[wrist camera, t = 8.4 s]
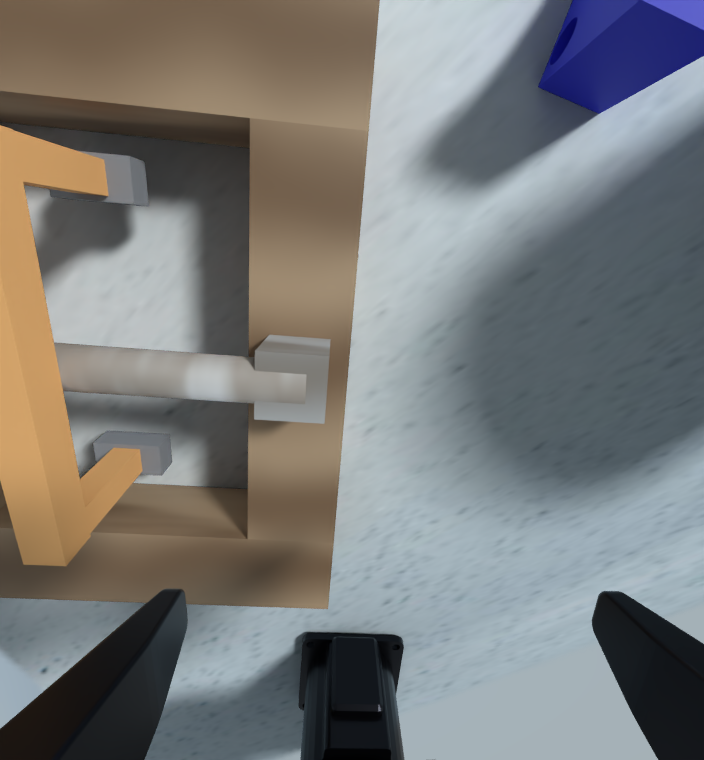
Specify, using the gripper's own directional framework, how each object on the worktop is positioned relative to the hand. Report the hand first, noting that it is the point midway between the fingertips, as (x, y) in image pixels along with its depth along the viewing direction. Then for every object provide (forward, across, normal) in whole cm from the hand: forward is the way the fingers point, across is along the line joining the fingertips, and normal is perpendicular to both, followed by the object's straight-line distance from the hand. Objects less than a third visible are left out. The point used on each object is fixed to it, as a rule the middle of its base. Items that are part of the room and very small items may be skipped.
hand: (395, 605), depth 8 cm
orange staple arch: (+11, +11, -4) cm, 16 cm away
